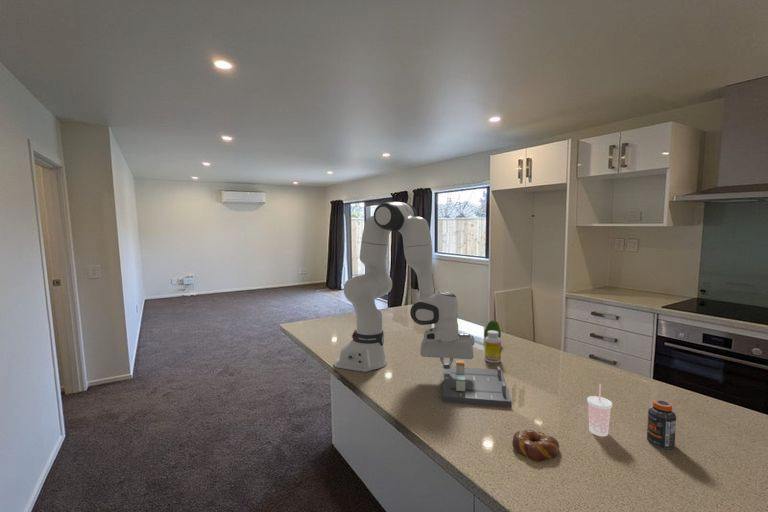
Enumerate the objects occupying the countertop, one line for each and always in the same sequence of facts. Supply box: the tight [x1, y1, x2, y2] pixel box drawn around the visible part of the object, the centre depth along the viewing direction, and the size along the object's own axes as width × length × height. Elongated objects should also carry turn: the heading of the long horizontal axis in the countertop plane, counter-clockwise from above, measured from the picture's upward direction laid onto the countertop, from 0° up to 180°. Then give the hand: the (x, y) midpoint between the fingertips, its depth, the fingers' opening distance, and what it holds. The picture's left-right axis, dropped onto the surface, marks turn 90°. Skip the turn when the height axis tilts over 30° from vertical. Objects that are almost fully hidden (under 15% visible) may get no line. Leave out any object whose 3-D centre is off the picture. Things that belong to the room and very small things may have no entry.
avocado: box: [483, 320, 502, 339], centre depth 177 cm, size 8×8×12 cm
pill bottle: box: [646, 399, 677, 450], centre depth 95 cm, size 6×6×11 cm
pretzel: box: [512, 429, 560, 462], centre depth 94 cm, size 12×11×4 cm
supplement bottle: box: [484, 330, 502, 364], centre depth 155 cm, size 7×7×13 cm
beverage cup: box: [586, 383, 613, 437], centre depth 100 cm, size 6×6×14 cm
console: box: [442, 366, 513, 408], centre depth 130 cm, size 22×26×5 cm
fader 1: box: [455, 359, 465, 375], centre depth 138 cm, size 3×4×4 cm
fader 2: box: [456, 375, 465, 391], centre depth 124 cm, size 3×4×4 cm
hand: (446, 368), depth 139 cm, fingers closed
